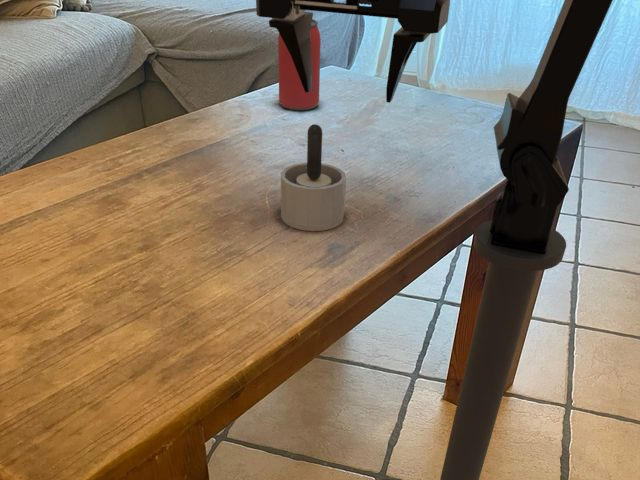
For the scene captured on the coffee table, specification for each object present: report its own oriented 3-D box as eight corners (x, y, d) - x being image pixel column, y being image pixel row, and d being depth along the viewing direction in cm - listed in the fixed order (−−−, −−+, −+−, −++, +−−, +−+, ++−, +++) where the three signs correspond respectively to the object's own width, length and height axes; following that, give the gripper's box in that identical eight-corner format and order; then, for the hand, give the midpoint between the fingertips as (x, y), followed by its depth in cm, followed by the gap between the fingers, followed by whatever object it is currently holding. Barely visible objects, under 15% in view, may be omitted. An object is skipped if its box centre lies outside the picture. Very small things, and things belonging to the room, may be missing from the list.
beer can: (327, 105, 109) (329, 21, 101) (301, 114, 105) (301, 28, 97) (296, 96, 112) (297, 14, 104) (270, 105, 108) (268, 21, 100)
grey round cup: (351, 209, 80) (353, 168, 77) (331, 235, 75) (333, 193, 72) (294, 199, 82) (294, 158, 79) (271, 224, 77) (270, 182, 73)
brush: (334, 208, 79) (338, 121, 72) (323, 222, 76) (326, 133, 70) (303, 203, 80) (304, 116, 73) (291, 216, 77) (291, 127, 71)
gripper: (470, -87, 65) (446, 85, 75) (292, -97, 69) (293, 68, 80) (450, -75, 57) (426, 115, 68) (250, -87, 61) (257, 94, 72)
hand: (348, 96), depth 72 cm, fingers open, 9 cm apart
